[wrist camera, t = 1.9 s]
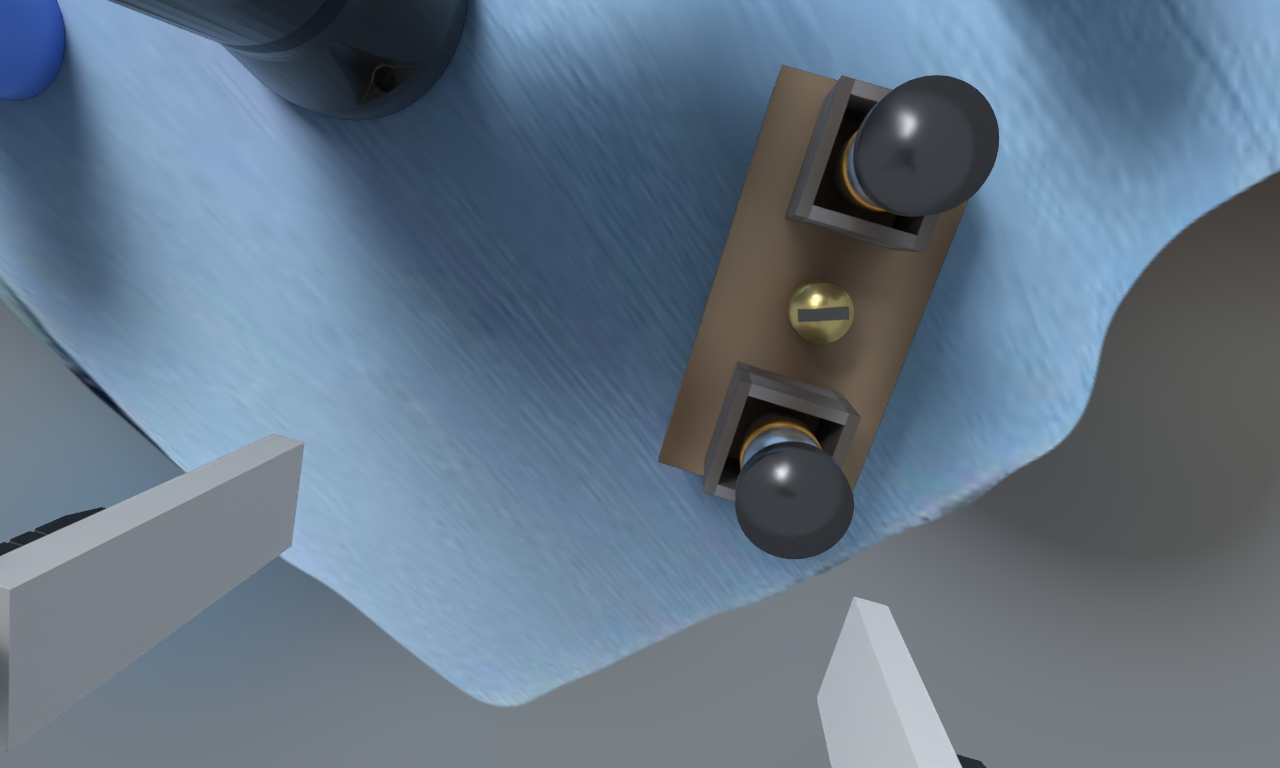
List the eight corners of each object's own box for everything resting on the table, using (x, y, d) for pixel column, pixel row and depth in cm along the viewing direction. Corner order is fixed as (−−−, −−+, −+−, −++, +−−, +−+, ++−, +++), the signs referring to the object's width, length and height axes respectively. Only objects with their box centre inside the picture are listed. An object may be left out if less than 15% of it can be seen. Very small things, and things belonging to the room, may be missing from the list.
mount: (666, 432, 44) (649, 494, 33) (772, 90, 39) (793, 35, 28) (824, 481, 44) (859, 561, 33) (955, 142, 38) (1046, 106, 28)
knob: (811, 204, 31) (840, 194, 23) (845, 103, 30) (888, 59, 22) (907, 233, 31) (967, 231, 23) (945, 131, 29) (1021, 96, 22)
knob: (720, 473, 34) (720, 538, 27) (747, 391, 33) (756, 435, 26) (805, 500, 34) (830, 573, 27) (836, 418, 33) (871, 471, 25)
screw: (785, 336, 36) (793, 346, 32) (784, 281, 35) (791, 285, 32) (842, 333, 35) (855, 343, 32) (842, 277, 35) (855, 281, 32)
